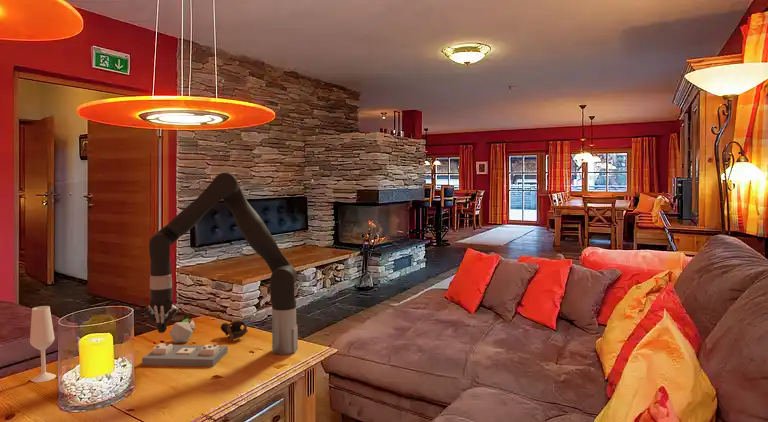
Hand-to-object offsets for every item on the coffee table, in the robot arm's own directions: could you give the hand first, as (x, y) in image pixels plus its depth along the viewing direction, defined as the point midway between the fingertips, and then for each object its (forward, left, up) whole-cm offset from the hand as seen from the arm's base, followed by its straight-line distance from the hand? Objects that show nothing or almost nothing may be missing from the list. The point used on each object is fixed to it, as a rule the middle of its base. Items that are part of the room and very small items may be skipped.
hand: (162, 332), depth 178 cm
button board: (-9, 0, -10) cm, 13 cm away
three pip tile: (-18, 0, -8) cm, 20 cm away
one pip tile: (-9, 0, -10) cm, 13 cm away
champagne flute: (+30, +20, -10) cm, 38 cm away
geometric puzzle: (+3, -28, -10) cm, 30 cm away
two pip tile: (0, 0, -8) cm, 8 cm away
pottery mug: (-19, -24, -10) cm, 32 cm away
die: (+1, -18, -10) cm, 21 cm away
